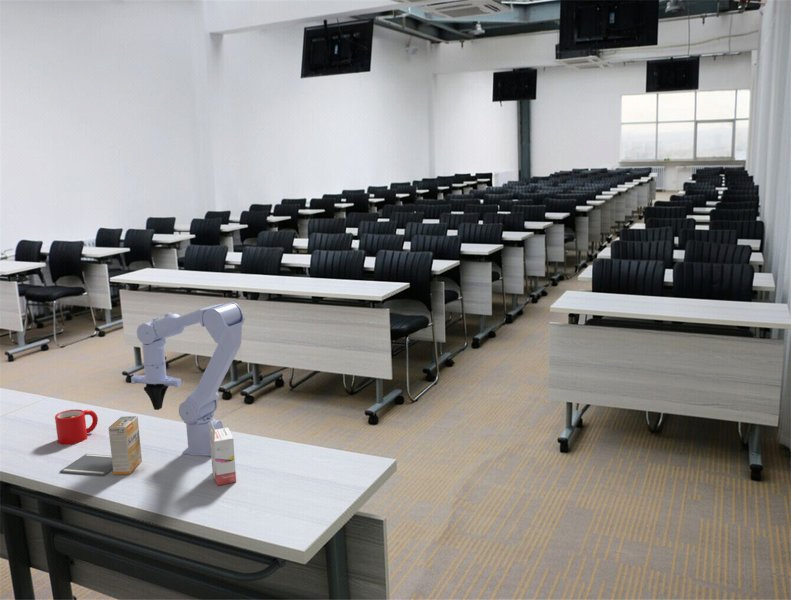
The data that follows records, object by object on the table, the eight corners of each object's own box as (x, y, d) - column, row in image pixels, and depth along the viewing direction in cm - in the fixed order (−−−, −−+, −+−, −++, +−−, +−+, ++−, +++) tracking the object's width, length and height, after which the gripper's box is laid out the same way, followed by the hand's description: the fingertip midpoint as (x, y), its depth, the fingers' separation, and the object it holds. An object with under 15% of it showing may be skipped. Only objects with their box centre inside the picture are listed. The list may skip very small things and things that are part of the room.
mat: (128, 458, 190) (128, 456, 190) (103, 476, 180) (103, 474, 179) (86, 455, 193) (86, 453, 193) (59, 472, 182) (59, 470, 182)
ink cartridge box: (237, 482, 174) (233, 427, 171) (217, 486, 173) (212, 430, 170) (231, 468, 182) (227, 415, 179) (212, 472, 180) (207, 419, 177)
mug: (105, 433, 208) (102, 408, 207) (67, 446, 199) (63, 420, 197) (91, 427, 213) (88, 403, 211) (52, 440, 203) (49, 415, 202)
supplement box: (131, 474, 180) (126, 427, 177) (112, 475, 180) (107, 427, 177) (143, 461, 188) (138, 415, 185) (125, 461, 188) (120, 415, 186)
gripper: (185, 360, 198) (188, 405, 200) (139, 357, 201) (143, 401, 204) (172, 368, 191) (175, 414, 194) (125, 364, 194) (129, 410, 197)
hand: (158, 408), depth 198 cm, fingers closed
